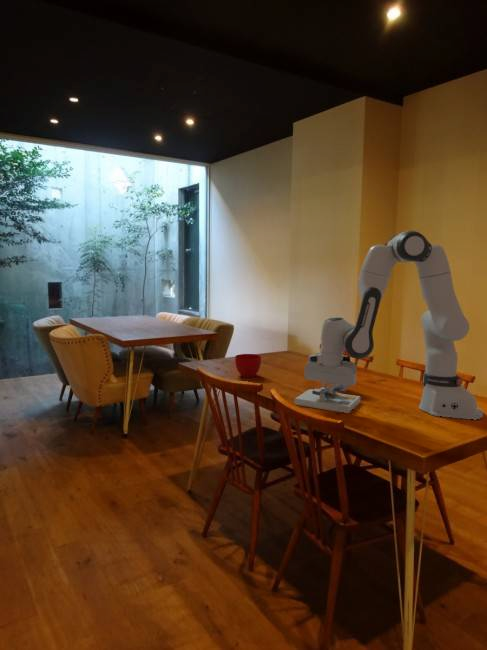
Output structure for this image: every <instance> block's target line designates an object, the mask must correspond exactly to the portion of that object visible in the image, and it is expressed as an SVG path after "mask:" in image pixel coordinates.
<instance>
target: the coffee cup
mask: <svg viewBox="0 0 487 650" xmlns="http://www.w3.org/2000/svg"><path fill="white" fill-rule="evenodd" d="M343 361H348V362H352V361H351V356H350V357H349V356H346V355H345V356H344V355H343ZM336 386H343V389H342V390H340V391H339V392H347V391H348V386H345V385H339V384H337V385H336Z"/></svg>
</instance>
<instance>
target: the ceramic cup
mask: <svg viewBox="0 0 487 650" xmlns="http://www.w3.org/2000/svg"><path fill="white" fill-rule="evenodd" d="M234 357H235V359H234V360H235V367H236V370H237V372H238V374H240V376H241V377H242V378H254V377H255V376H256V375H257V374H258V372H259V371H260V368H261V363H262V355H259V354H255V353H242V354H237V355H235V356H234Z"/></svg>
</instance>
